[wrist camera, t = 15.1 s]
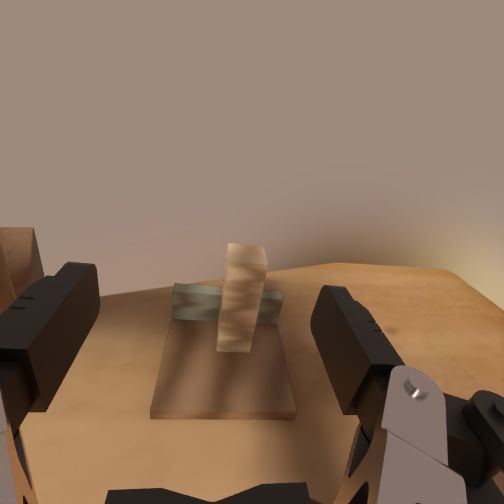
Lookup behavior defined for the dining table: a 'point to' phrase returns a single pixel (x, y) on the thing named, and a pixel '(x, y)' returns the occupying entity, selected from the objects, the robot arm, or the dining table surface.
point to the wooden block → (17, 263)
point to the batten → (240, 297)
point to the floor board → (221, 364)
